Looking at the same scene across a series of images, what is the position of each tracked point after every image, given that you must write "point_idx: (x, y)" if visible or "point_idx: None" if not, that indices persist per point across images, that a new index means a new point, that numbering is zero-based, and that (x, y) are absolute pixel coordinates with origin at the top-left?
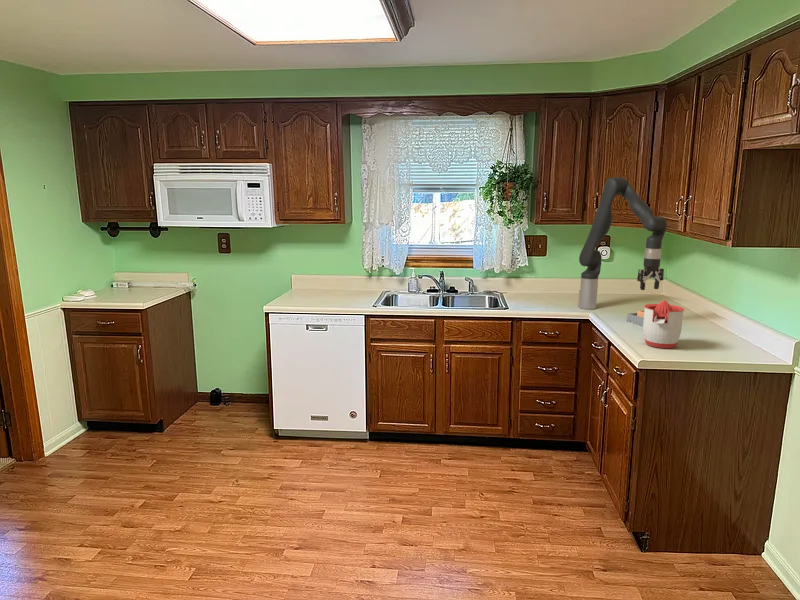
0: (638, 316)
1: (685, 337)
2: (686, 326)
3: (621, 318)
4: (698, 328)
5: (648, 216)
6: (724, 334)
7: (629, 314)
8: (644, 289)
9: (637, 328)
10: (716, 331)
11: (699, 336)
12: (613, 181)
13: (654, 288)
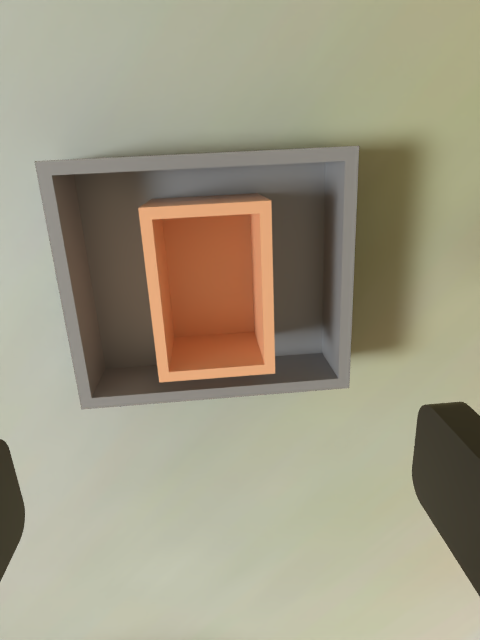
0: (76, 319)
1: (180, 635)
2: None
3: (80, 21)
4: None
5: None
6: (448, 621)
7: (42, 196)
8: (10, 541)
9: (6, 410)
10: None
11: (277, 631)
12: None
13: (422, 415)
